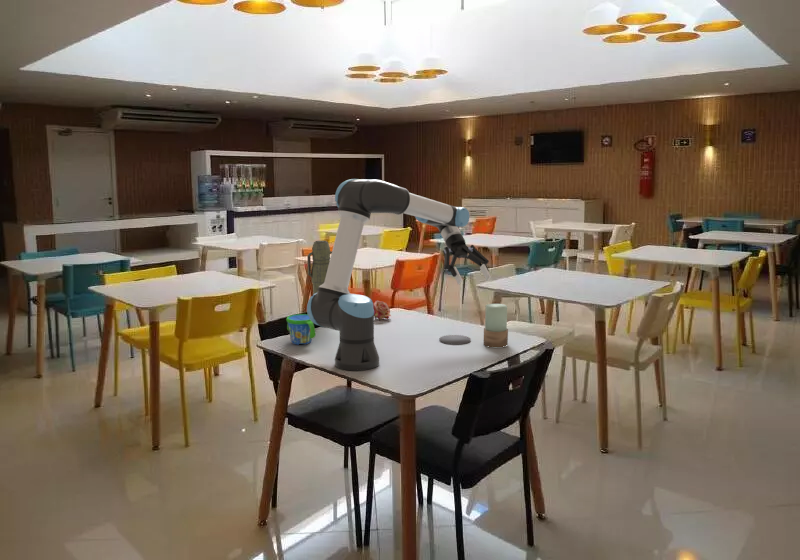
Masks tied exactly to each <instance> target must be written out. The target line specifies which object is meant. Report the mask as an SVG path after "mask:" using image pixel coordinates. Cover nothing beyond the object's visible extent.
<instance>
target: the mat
mask: <svg viewBox="0 0 800 560" xmlns="http://www.w3.org/2000/svg"><path fill="white" fill-rule="evenodd" d="M439 342H440V343H442V344H447V345H453V346H454V345H458V346H459V345H465V344H469V343H470V342H471V338H470V337H469V336H466V335H461V334H460V335H459V334H447V335H442V336H439Z"/></svg>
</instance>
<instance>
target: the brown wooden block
mask: <svg viewBox="0 0 800 560" xmlns="http://www.w3.org/2000/svg"><path fill="white" fill-rule="evenodd" d="M508 337H509V329H508V328H507V330H506V331H503V332H491V331H487V330H485V327H484V328H483V346H484V345H485V346H484V347H486V346H489V347H488V348H490V347H503V346H506V345H508V344H509V343H508V341H509V338H508ZM506 347H507V346H506ZM503 348H504V347H503Z"/></svg>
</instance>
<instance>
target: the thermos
mask: <svg viewBox="0 0 800 560" xmlns="http://www.w3.org/2000/svg"><path fill="white" fill-rule="evenodd" d="M311 248H312V249H311V252H309V253H308V254H307V258H306V259H307V275H308V276H309V277H310V278H311V283H312V295H313V294H315V293H317V292H318V288H319V286H320V285H322V284H323V283H324V282H325V278H326V274H327V270H328V266H329V262H330V258H331V254H332V251H331V248H330V244H329V242H328V241H327V240H315V241H314V242H313V244H312V247H311ZM311 256H312V262H311ZM311 263H312V265H311Z"/></svg>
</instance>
